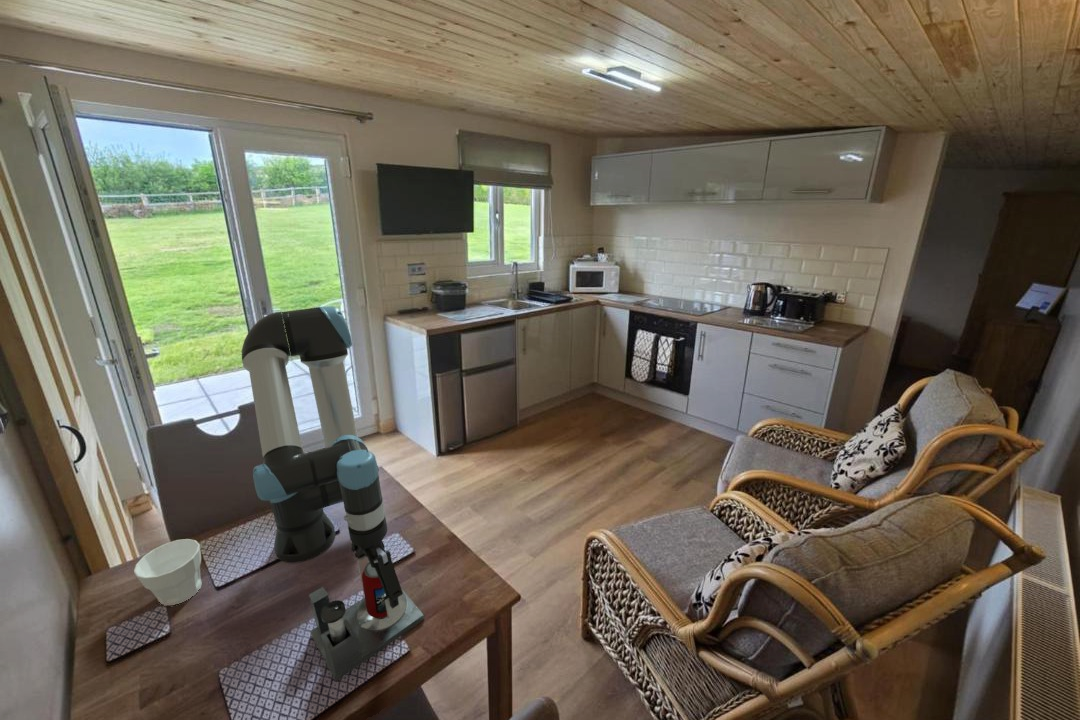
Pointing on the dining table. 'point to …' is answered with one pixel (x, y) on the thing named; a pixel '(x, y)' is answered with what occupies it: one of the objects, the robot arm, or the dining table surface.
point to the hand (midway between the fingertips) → (380, 596)
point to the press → (359, 632)
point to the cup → (171, 571)
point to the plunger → (335, 620)
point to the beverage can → (373, 592)
